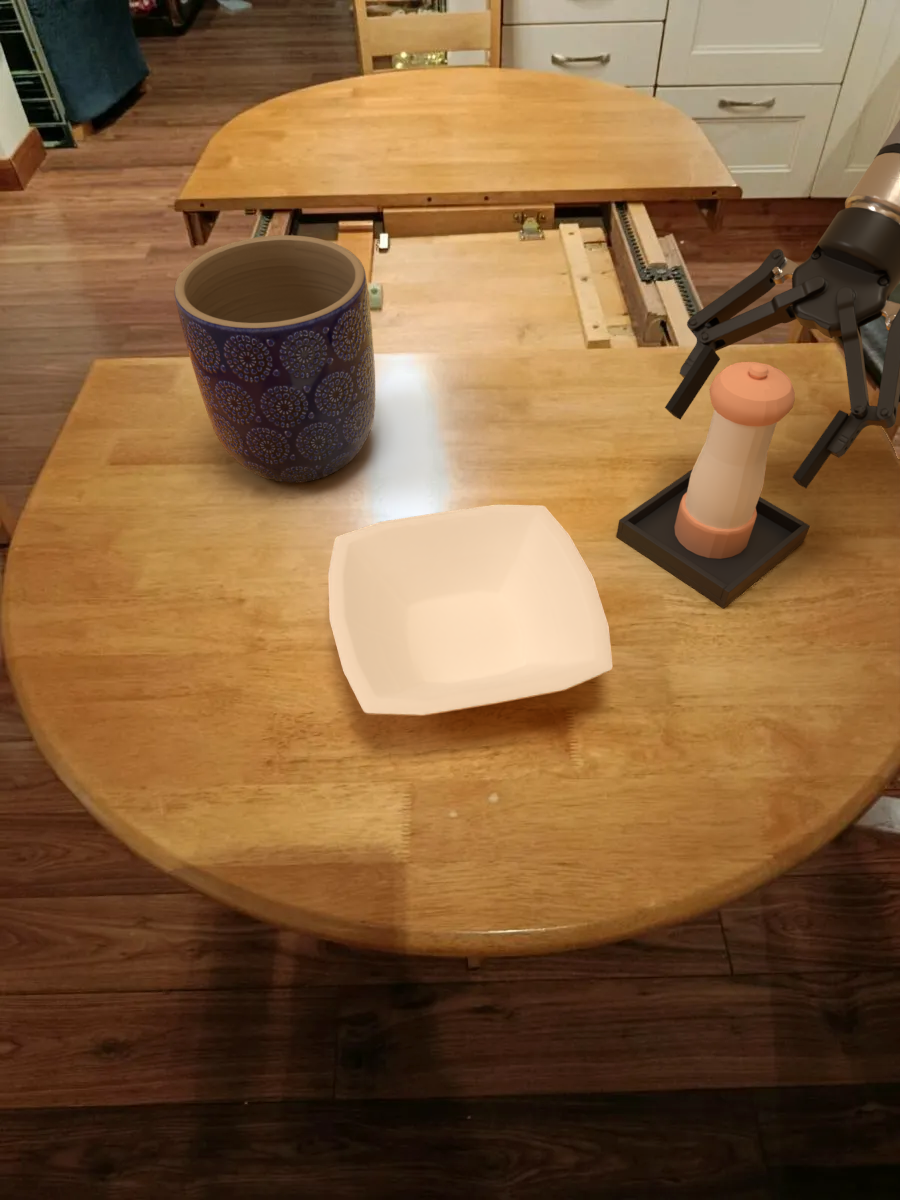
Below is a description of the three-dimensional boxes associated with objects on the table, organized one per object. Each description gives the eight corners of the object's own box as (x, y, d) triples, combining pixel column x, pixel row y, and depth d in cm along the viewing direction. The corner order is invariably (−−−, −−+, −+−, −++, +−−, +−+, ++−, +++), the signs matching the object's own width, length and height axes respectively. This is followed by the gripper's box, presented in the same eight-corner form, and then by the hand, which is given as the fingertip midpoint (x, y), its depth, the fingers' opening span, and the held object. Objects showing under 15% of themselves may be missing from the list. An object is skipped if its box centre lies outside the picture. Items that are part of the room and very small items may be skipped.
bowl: (627, 717, 71) (637, 676, 67) (352, 768, 68) (345, 728, 64) (552, 536, 86) (557, 494, 82) (324, 572, 83) (316, 529, 79)
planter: (350, 516, 89) (326, 339, 73) (190, 488, 92) (135, 313, 77) (402, 414, 100) (391, 243, 85) (259, 392, 104) (223, 225, 88)
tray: (803, 542, 85) (810, 525, 83) (723, 608, 79) (729, 592, 77) (696, 479, 92) (701, 462, 90) (615, 536, 86) (618, 519, 84)
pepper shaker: (759, 525, 85) (817, 358, 71) (732, 569, 81) (788, 401, 67) (691, 500, 88) (733, 334, 74) (662, 541, 84) (701, 374, 70)
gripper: (1029, 301, 68) (865, 524, 73) (764, 205, 81) (639, 400, 86) (1032, 259, 62) (853, 506, 67) (745, 162, 75) (611, 375, 79)
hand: (732, 447), depth 76 cm, fingers open, 13 cm apart
